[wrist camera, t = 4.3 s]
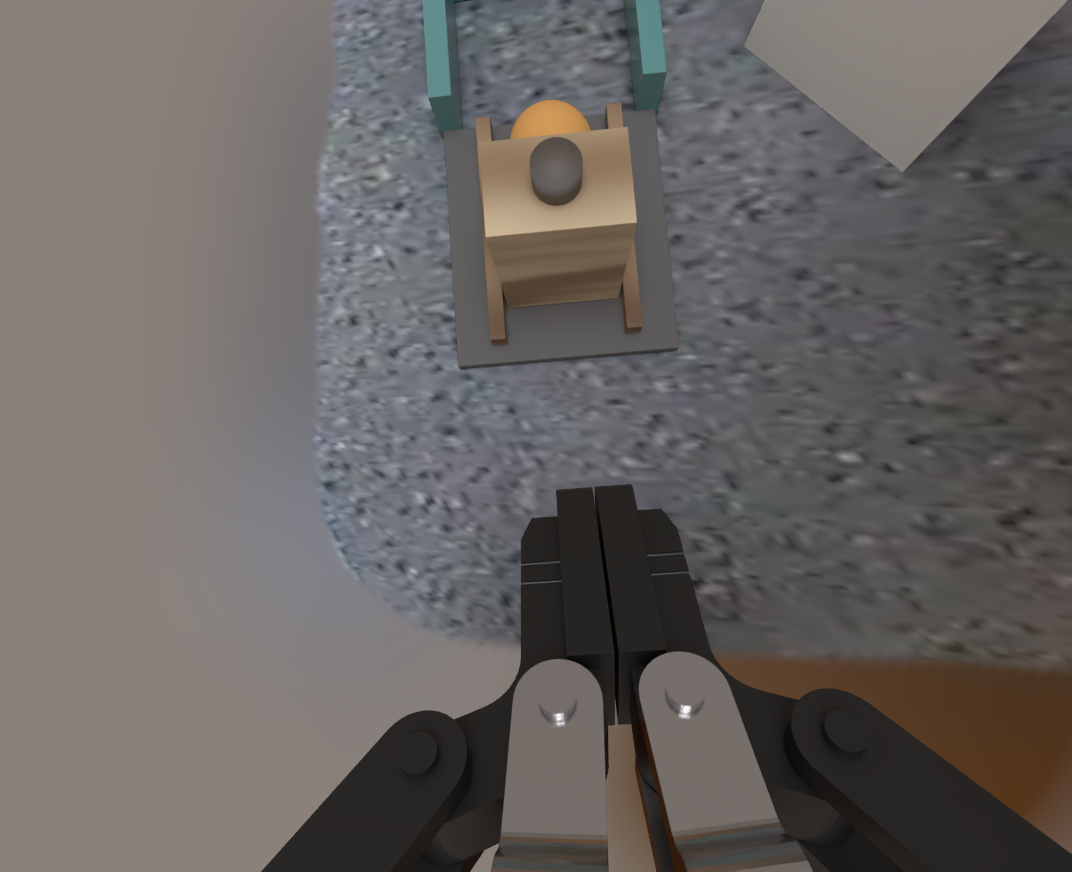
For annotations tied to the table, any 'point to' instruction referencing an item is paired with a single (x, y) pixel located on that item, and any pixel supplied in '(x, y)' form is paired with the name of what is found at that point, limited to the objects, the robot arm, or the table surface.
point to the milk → (894, 59)
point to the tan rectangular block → (559, 215)
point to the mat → (563, 324)
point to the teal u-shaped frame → (445, 71)
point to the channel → (493, 283)
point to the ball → (549, 120)
